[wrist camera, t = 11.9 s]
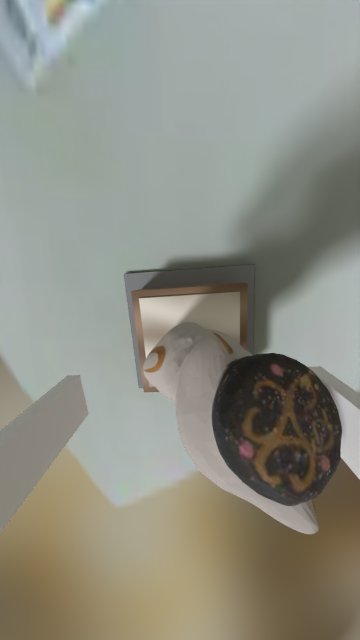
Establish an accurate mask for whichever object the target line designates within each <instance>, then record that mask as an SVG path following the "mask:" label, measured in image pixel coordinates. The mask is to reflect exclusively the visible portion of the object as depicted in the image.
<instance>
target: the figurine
mask: <svg viewBox="0 0 360 640" xmlns="http://www.w3.org/2000/svg"><path fill="white" fill-rule="evenodd" d="M143 370H144V375H145V377H146V379H147V380H148V381H149V382H150V383H151V384H152V385H154V386H155V387H156V388H157V389H158V390H159V391H160V392H161V393H162V394H163V395H164V396H166V397H167V398H169V399H171V400H173V401H174V403H175V405H176V415H177V423H178V429H179V433H180V437H181V440H182V443H183V446H184V448H185V450H186V452H187V454H188V455H189V457H190V459H191V460H192V462H193V463H194V465H195V466H196V467H197V468H198V469H199V470H200V471H201V472H202V473H203V474H204V475H205V476H206V477H208V478H209V479H210V480H211V481H212V482H214V483H215V484H216V485H218V486H219V487H221V488H222V489H224V490H226V491H228V492H230V493H232V494H234V495H236V496H238V497H240V498H242V499H244V500H247V501H249V502H250V503H252V504H254V505H256V506H257V507H259V508H260V509H261V510H263V511H264V512H266V513H267V514H269V515H270V516H272V517H273V518H275V519H276V520H278V521H279V522H281V523H283V524H285V525H286V526H288V527H290V528H292V529H294V530H296V531H299V532H303V533H306V534H313V533H316V532H317V531H318V530H319V523H318V519H317V514H316V510H315V506H314V501H313V499H314V498H316V497H318V496H319V495H320V493H321V492H322V490H323V489H324V487H325V486H326V485H327V483H328V482H329V480H330V479H331V477H332V476H333V475H334V473H335V472H336V469H337V467H338V464H339V462H340V459H341V438H342V426H341V421H340V417H339V412H338V409H337V406H336V404H335V402H334V400H333V398H332V396H331V394H330V392H329V390H328V389H327V388H326V387H325V385H324V384H323V383H322V382H321V380H320V379H319V378H318V376H317V375H316V374H315V373H314V372H313V371H312V370H311V369H310V368H308V367H307V366H305V365H303V364H302V363H300V362H298V361H297V360H294V359H292V358H290V357H287V356H285V355H281V354H275V353H268V354H257V355H253V354H252V353H250V352H249V351H248V350H246V349H245V348H243V347H242V346H241V345H240V344H239V343H238V342H237V341H236V340H235V339H234V338H233V337H231V336H229V335H227V334H225V333H222V332H219V331H215V330H209V329H204V328H202V327H200V326H199V325H198V324H197V323H194V322H184V323H181V324H179V325H177V326H175V327H173V328H172V329H171V330H170V331H168V332H167V333H166V334H165V335H164V336H163V338H162V339H161V340H160V341H159V342H158V343H157V345H156V346H155V347H154V348H153V349H152V350H151V352H150V353H149V354H148V356H147V358H146V360H145V363H144V367H143Z"/></svg>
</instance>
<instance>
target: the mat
mask: <svg viewBox="0 0 360 640" xmlns="http://www.w3.org/2000/svg"><path fill="white" fill-rule="evenodd" d="M124 279H125V287H126V294H127V302H128V309H129V317H130V324H131V332H132V339H133V347H134V355H135V362H136V370H137V377H138V385H139V388H143V381H142V373H141V365H140V357H139V349H138V342H137V334H136V326H135V318H134V310H133V302H132V294H131V291H134V290H139V289H149V288H163V287H178V286H193V285H207V284H222V283H236V282H239V283H248V297H247V350H248V351H249V352H250V353H252V354H253V337H254V285H255V264H249V265H236V266H222V267H209V268H196V269H183V270H170V271H156V272H143V273H130V274H124Z"/></svg>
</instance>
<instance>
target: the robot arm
mask: <svg viewBox="0 0 360 640" xmlns="http://www.w3.org/2000/svg"><path fill="white" fill-rule="evenodd" d="M308 368H310V369H311V370H312V371H313V372H314V373H315V374H316V375H317V376H318V378H319V379H320V380H321V382H322V383H323V384H324V385H325V387H326V388H327V389H328V390H329V392H330V394H331V396H332V398H333V400H334V402H335V404H336V406H337V409H338V412H339V417H340V421H341V426H342V438H341V457H342V458H343V460H344V461H345V462H346V464H348V466H349V467H350V468H351V470H352V471H353V472H354V473H355V474H356V476H357V477H358V478H359V479H360V394H359V393H357V392H356V391H354V390H353V389H352V388H350V387H349V386H347V385H346V384H345V383H343V382H342V381H340V380H339V379H337V378H336V377H335V376H333V375H332V374H330V373H329V372H327V371H326V370H325V369H323V368H322V367H308ZM87 415H88V410H87V405H86V401H85V396H84V392H83V387H82V383H81V378H80V375H71V376H67V377H65V378H64V379H63V380H62V381H61V382H59V383H58V384H57V385H56V386H54V387H53V388H52V389H51V390H50V391H48V392H47V393H46V394H45V395H43V396H42V397H41V398H40V399H39V400H37V401H36V402H35V403H34V404H32V405H31V406H30V407H29V408H28V409H26V410H25V411H24V412H23V413H21V414H20V415H19V416H18V417H17V418H15V419H14V420H13V421H12V422H10V423H9V424H8V425H7V426H6V427H4V428H3V429H2V430H1V431H0V533H1V532H2V530H3V529H4V528H5V526H6V525H7V524H8V522H9V521H10V519H11V518H12V517H13V515H14V514H15V513H16V511H17V510H18V509H19V507H20V506H21V505H22V503H23V502H24V500H25V499H26V498H27V496H28V495H29V494H30V492H31V491H32V490H33V488H34V487H35V486H36V484H37V483H38V481H39V480H40V479H41V477H42V476H43V474H44V473H45V472H46V471H47V469H48V468H49V466H50V465H51V464H52V462H53V461H54V460H55V458H56V457H57V456H58V454H59V453H60V452H61V450H62V449H63V448H64V446H65V445H66V443H67V442H68V441H69V439H70V438H71V437H72V435H73V434H74V433H75V431H76V430H77V429H78V427H79V426H80V424H81V423H82V422H83V420H84V419H85V418H86V416H87Z"/></svg>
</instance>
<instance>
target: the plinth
mask: <svg viewBox="0 0 360 640" xmlns="http://www.w3.org/2000/svg"><path fill="white" fill-rule="evenodd" d="M131 294H132V302H133V310H134V318H135V326H136V334H137V342H138V349H139V357H140V365H141V373H142V381H143V389H144V392H160V391H159V390H158V389H157V388H156V387H155V386H154V385H152V384H151V383H150V382H149V381H148V380H147V379H146V377H145V375H144V370H143V367H144V363H145V360H146V358H147V356H148V354H149V353H150V352H151V350H152V349H153V348H154V347H155V346H156V345H157V343H158V342H159V341H160V340H161V339H162V338H163V336H164V335H165V334H166V333H167V332H168V331H170V330H171V329H172V328H173V327H175V326H177V325H179V324H181V323H184V322H194V323H197V324H198V325H199V326H200V327H202V328H204V329H209V330H215V331H219V332H222V333H225V334H227V335H229V336H231V337H233V338H234V339H235V340H236V341H237V342H238V343H239V344H240V345H241V346H242V347H243V348H245V349H246V350H247V297H248V283H239V282H236V283H222V284H207V285H193V286H178V287H163V288H149V289H139V290H134V291H131Z"/></svg>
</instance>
